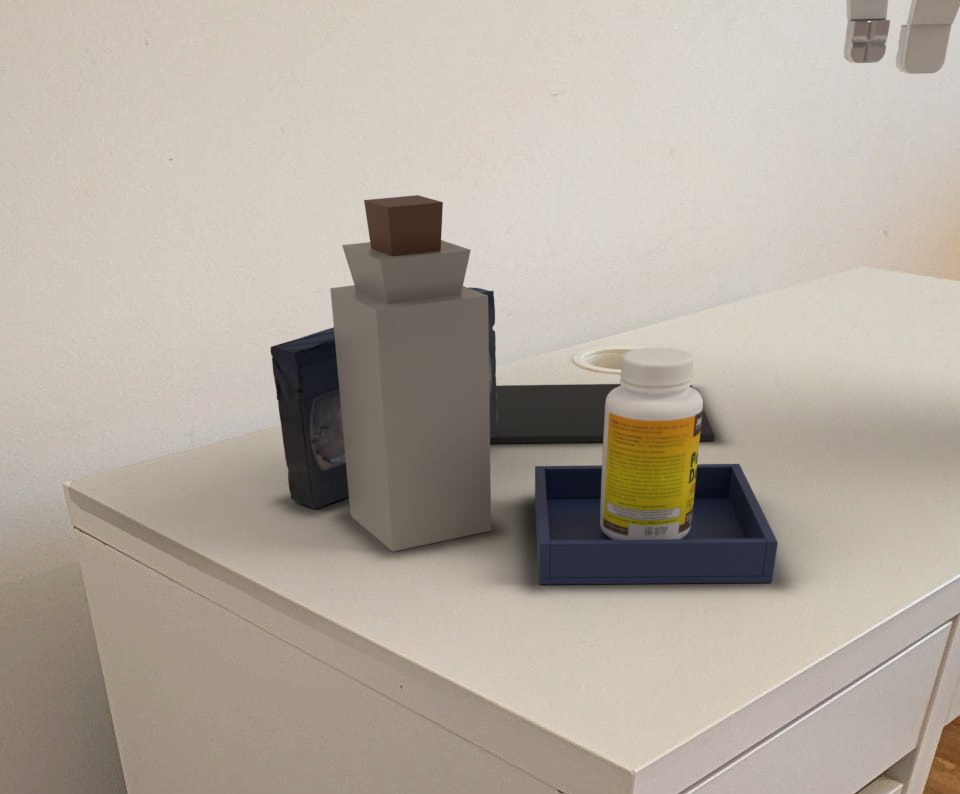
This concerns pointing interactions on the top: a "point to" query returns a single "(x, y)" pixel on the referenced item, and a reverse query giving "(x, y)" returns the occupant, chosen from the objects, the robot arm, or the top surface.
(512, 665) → the top surface
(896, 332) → the top surface
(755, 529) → the box
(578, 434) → the mat
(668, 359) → the supplement bottle
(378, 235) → the perfume bottle
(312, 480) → the vhs cassette tape
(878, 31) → the robot arm
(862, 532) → the top surface
